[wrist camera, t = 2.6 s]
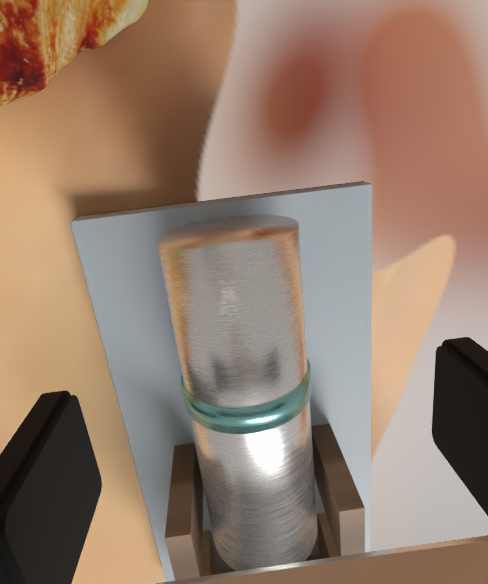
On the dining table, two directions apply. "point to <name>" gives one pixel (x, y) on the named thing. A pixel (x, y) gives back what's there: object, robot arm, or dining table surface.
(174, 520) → the guide
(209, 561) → the socket
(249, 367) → the tube
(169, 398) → the board
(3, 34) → the croissant
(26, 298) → the dining table surface
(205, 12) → the dining table surface
